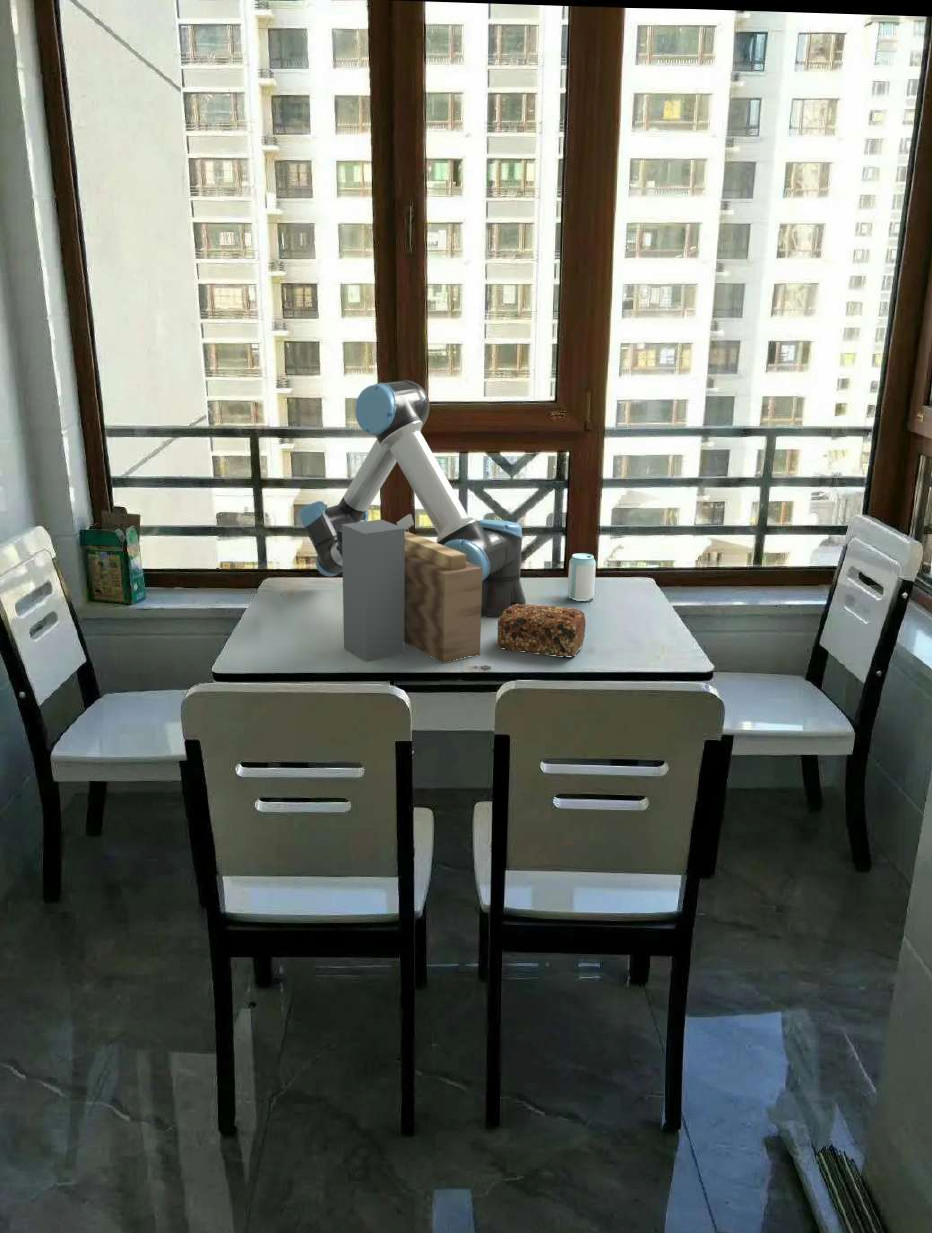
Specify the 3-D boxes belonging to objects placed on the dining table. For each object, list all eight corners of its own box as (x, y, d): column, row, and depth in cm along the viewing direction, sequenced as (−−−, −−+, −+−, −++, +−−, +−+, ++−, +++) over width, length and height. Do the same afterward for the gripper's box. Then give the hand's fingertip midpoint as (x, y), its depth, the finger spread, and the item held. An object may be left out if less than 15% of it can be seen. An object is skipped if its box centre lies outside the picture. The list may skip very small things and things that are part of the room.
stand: (343, 648, 228) (341, 524, 219) (381, 640, 234) (381, 519, 225) (365, 661, 221) (364, 533, 212) (404, 653, 226) (404, 528, 217)
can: (578, 593, 274) (581, 551, 270) (598, 599, 269) (601, 556, 265) (561, 598, 269) (564, 555, 265) (582, 604, 264) (585, 560, 261)
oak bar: (385, 542, 239) (385, 530, 238) (399, 540, 241) (399, 528, 240) (451, 570, 217) (451, 556, 217) (466, 567, 220) (466, 554, 219)
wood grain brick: (396, 637, 236) (396, 553, 230) (431, 630, 242) (432, 548, 235) (443, 663, 221) (444, 574, 214) (479, 655, 226) (482, 567, 220)
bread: (585, 647, 233) (587, 606, 230) (572, 662, 224) (575, 619, 221) (510, 635, 240) (511, 596, 237) (494, 649, 230) (496, 608, 227)
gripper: (395, 555, 263) (434, 531, 246) (311, 568, 250) (346, 543, 232) (388, 528, 264) (427, 502, 246) (303, 540, 250) (338, 512, 233)
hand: (388, 522), depth 239 cm, fingers open, 13 cm apart
